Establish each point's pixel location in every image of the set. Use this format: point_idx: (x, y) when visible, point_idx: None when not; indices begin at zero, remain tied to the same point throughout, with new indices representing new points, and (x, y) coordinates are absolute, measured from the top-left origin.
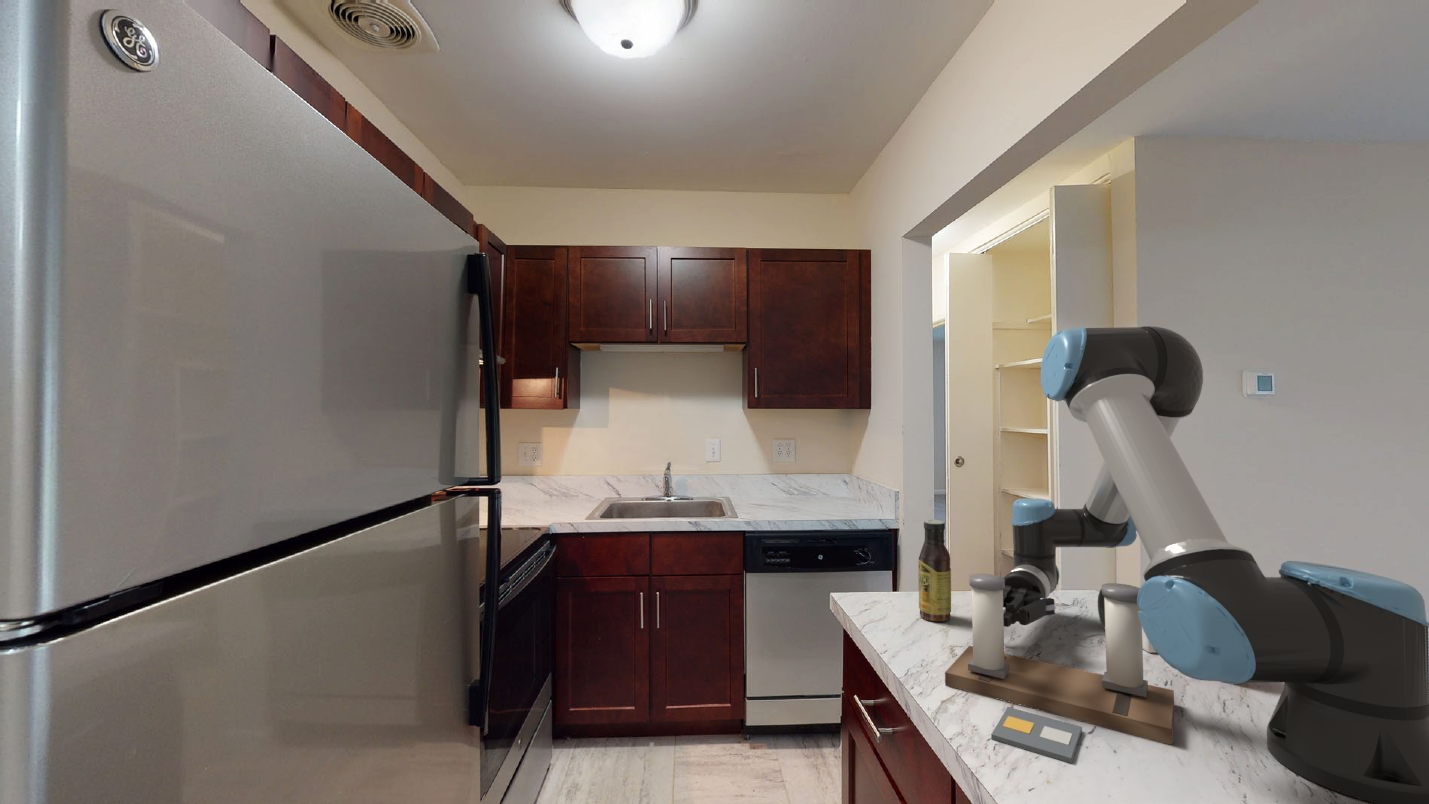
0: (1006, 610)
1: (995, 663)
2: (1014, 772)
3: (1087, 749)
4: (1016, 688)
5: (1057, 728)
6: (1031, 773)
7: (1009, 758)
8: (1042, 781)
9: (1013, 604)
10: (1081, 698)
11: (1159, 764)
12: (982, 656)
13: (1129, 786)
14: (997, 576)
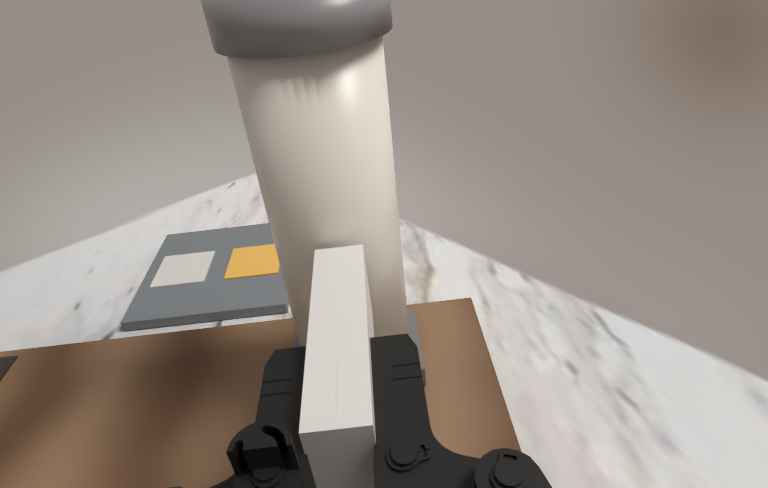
0: (301, 468)
1: None
2: (254, 194)
3: (131, 285)
4: (263, 328)
5: (177, 289)
6: (231, 202)
7: (264, 209)
8: (217, 199)
9: (231, 441)
10: (79, 381)
11: (3, 313)
12: None
13: (92, 243)
14: (244, 2)
